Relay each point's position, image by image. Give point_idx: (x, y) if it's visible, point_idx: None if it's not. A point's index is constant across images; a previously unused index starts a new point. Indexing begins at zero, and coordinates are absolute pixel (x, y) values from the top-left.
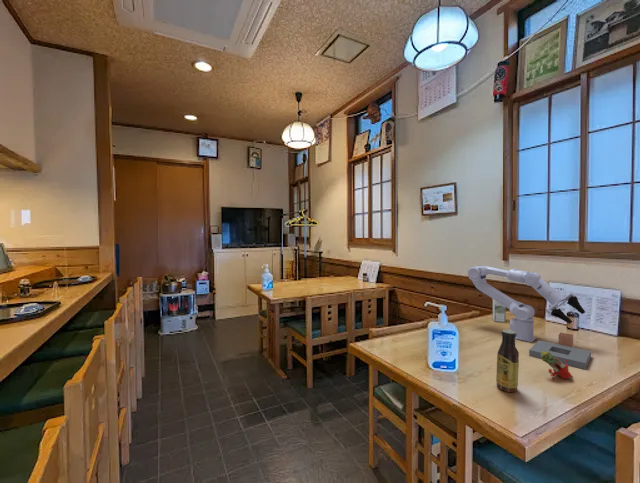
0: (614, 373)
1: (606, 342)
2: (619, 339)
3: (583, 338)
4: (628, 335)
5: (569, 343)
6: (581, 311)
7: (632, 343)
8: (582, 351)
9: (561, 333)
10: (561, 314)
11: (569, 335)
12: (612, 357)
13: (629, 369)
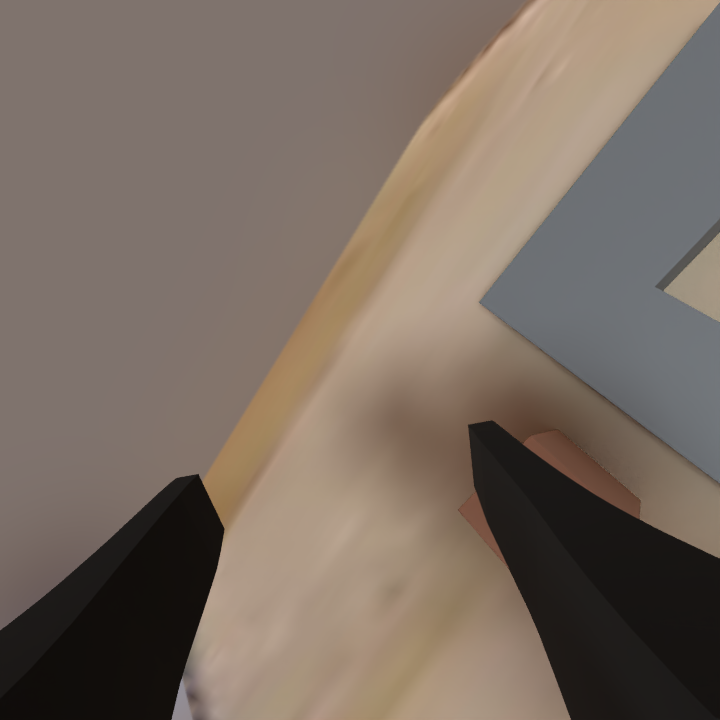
0: (532, 66)
1: (257, 548)
2: None
3: (313, 641)
4: None
5: (556, 443)
6: (197, 524)
7: None
8: (553, 283)
9: None
10: (656, 541)
11: None
12: (373, 329)
13: (408, 171)
